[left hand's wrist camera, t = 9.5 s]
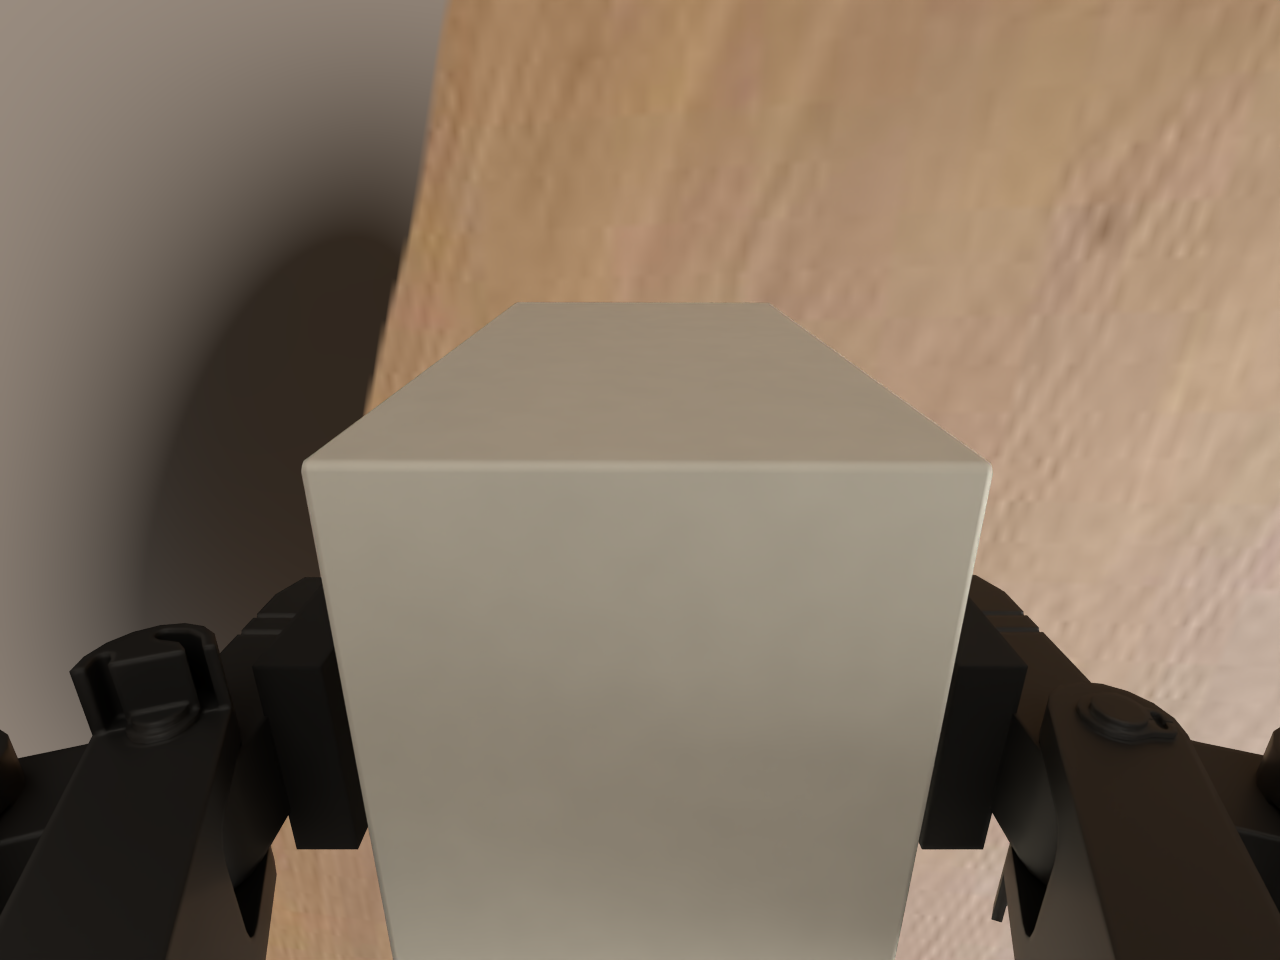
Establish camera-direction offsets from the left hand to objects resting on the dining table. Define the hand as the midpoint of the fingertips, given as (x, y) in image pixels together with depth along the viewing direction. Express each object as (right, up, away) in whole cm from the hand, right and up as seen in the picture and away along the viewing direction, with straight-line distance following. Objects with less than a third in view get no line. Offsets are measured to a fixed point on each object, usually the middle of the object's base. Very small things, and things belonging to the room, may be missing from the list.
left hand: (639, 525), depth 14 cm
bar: (0, -8, +4) cm, 9 cm away
